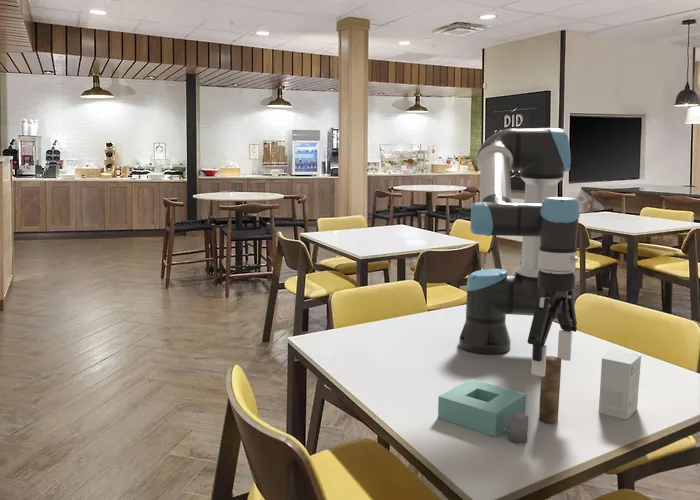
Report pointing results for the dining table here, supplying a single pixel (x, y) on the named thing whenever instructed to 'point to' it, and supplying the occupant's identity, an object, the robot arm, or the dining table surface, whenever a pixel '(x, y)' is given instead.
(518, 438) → the charcoal dowel
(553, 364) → the walnut dowel
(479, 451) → the dining table surface
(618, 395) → the small box
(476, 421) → the hole block
